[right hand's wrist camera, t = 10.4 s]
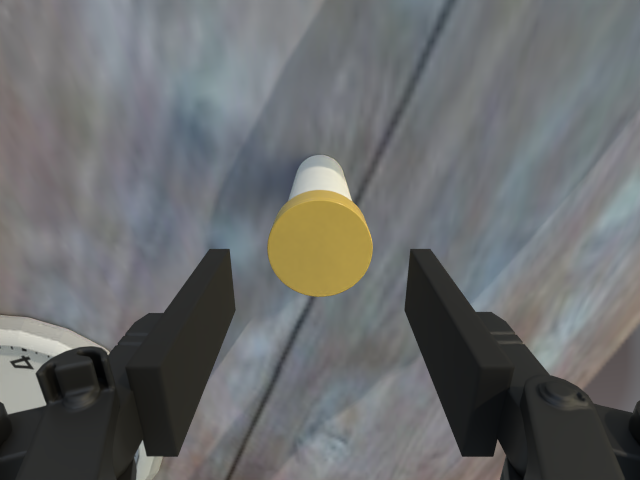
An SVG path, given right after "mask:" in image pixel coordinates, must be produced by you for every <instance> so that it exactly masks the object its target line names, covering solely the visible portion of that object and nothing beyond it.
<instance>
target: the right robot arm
mask: <svg viewBox="0 0 640 480" xmlns="http://www.w3.org/2000/svg"><path fill="white" fill-rule="evenodd" d="M234 313H235V300H234V290H233V280H232V270H231V259H230V249H209V251H208V252H207V254H206V255H205V256H204V258H203V259H202V260H201V262H200V263H199V265H198V266H197V267H196V269H195V270H194V272H193V273H192V274H191V276H190V277H189V279H188V280H187V281H186V283H185V284H184V285H183V287H182V288H181V290H180V291H179V292H178V294H177V295H176V297H175V298H174V299H173V301H172V302H171V304H170V305H169V306H168V308H167V309H166V310H165V312H164V313H148V314H147V315H145V316H144V317H142V318H141V319H139V320H138V321H136V322H135V323H134V324H133V325H132V326H131V328H130V329H129V330H128V331H127V333H126V334H125V336H123V337H122V339H121V340H120V341H119V342H118V345H117V346H115V347H114V348H113V350H112V351H111V352H110V353H109V355H108V354H107V352H106V351H105V350H104V349H102V348H100V347H95V346H87V347H78V348H75V349H71V350H68V351H65V352H63V353H61V354H59V355H57V356H54V357H53V358H51V359H50V360H48V361H47V362H46V363H44V364H43V365H42V366H41V367H40V368H39V370H38V371H37V372H36V373H35V374H36V377H37V380H38V383H39V385H40V388H41V391H42V394H43V397H44V399H45V402H46V405H45V406H42V407H38V408H34V409H29V410H25V411H20V412H16V413H12V414H8V413H7V411H6V409H5V406H4V404H3V403H2V402H0V480H136V475H137V468H136V462H135V458H134V456H135V454H136V452H137V450H138V448H139V446H140V444H141V442H142V440H143V443H144V447H145V451H146V456H147V457H178V455H179V452H180V450H181V447H182V445H183V442H184V439H185V437H186V434H187V432H188V429H189V427H190V424H191V422H192V419H193V417H194V414H195V412H196V409H197V407H198V404H199V401H200V399H201V396H202V394H203V391H204V389H205V386H206V384H207V381H208V379H209V376H210V374H211V371H212V368H213V366H214V363H215V361H216V358H217V356H218V353H219V351H220V348H221V346H222V343H223V341H224V338H225V336H226V333H227V330H228V328H229V325H230V323H231V320H232V318H233V315H234ZM405 313H406V315H407V318H408V320H409V323H410V325H411V328H412V330H413V333H414V336H415V338H416V341H417V343H418V346H419V348H420V351H421V353H422V356H423V358H424V361H425V363H426V366H427V368H428V371H429V374H430V376H431V379H432V381H433V384H434V386H435V389H436V391H437V394H438V396H439V399H440V401H441V404H442V407H443V409H444V412H445V414H446V417H447V419H448V422H449V424H450V427H451V429H452V432H453V434H454V437H455V439H456V442H457V445H458V447H459V450H460V452H461V455H462V457H493V456H494V451H495V447H496V443H497V439H498V440H499V442H500V444H501V446H502V448H503V450H504V452H505V454H506V458H505V462H504V466H503V470H502V474H501V477H500V480H640V401H638V402H637V404H636V406H635V409H634V411H633V413H631V412H626V411H622V410H618V409H613V408H609V407H605V406H600V405H597V404H594V403H593V402H592V401H591V399H590V398H589V396H588V395H587V394H586V393H585V392H584V391H582V390H581V389H580V388H579V387H577V386H576V385H574V384H572V383H570V382H568V381H566V380H564V379H561V378H558V377H555V376H550V375H549V373H548V372H547V371H546V370H545V369H544V367H543V366H542V365H541V364H540V363H539V361H538V360H537V359H536V358H535V356H534V355H533V354H532V353H531V352H530V350H529V349H528V348H527V347H526V346H525V344H523V342H522V341H521V339H520V338H519V337H518V336H517V335H515V332H514V331H513V330H512V329H511V327H510V326H509V325H508V324H507V322H506V321H504V320H503V319H501V318H500V317H498V316H497V315H495V314H493V313H492V312H475V310H474V309H473V308H472V306H471V305H470V304H469V302H468V301H467V299H466V298H465V297H464V295H463V294H462V292H461V291H460V290H459V288H458V287H457V285H456V284H455V283H454V281H453V280H452V279H451V277H450V276H449V274H448V273H447V272H446V270H445V269H444V267H443V266H442V265H441V263H440V262H439V260H438V259H437V258H436V256H435V255H434V254H433V252H432V251H431V249H410V259H409V270H408V280H407V290H406V300H405Z"/></svg>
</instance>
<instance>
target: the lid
mask: <svg viewBox="0 0 640 480" xmlns="http://www.w3.org/2000/svg"><path fill="white" fill-rule="evenodd" d="M372 249H373V246H372V239H371V235H370V232H369V229H368V226H367V224H366V221H365V218H364V216H363V214H362V212H361V211H360V209H359V208H358V207H357V206H356V205H355V204H354V203H353V202H352V201H351V200H350V199H348V198H347V197H345V196H343V195H341V194H339V193H336V192H333V191H328V190H312V191H307V192H304V193H301V194H299V195H297V196H295V197H293V198H292V199H290V200H289V201H288V202H287V203H286V204H285V205H284V206H283V207H282V208H281V209H280V211H279V212H278V214H277V216H276V218H275V221H274V224H273V226H272V229H271V232H270V235H269V239H268V247H267V250H268V258H269V262H270V264H271V267H272V269H273V271H274V272H275V274H276V275H277V277H278V278H279V279H280V280H281V281H282V282H283V283H284V284H285V285H287V286H288V287H289V288H291V289H292V290H294V291H297V292H299V293H302V294H304V295H309V296H316V297H324V296H331V295H335V294H339V293H341V292H344V291H345V290H347V289H349V288H351V287H352V286H354V285H355V284H356V283H357V282H358V281H359V280H360V279H361V278H362V277H363V275H364V274H365V272H366V271H367V269H368V267H369V264H370V261H371V258H372Z"/></svg>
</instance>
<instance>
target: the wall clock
mask: <svg viewBox="0 0 640 480" xmlns="http://www.w3.org/2000/svg"><path fill="white" fill-rule="evenodd" d="M87 346H95V347H100V348H102V349H104V350H105V351H106V352H107V354H108V355H109V353H110V352H109V351H108V350H106V349H105V348H104V347H102V346H100V345H98V344H96V343H94V342H92V341H90V340H88V339H86V338H84V337H82V336H80V335H78V334H77V333H75V332H73V331H71V330H69V329H66V328H63V327H59V326H56V325H52V324H49V323H46V322H42V321H39V320H35V319H32V318H28V317H17V316H6V315H0V402H2V403H3V404H4V406H5V409H6V411H7V413H8V414H12V413H16V412H20V411H25V410H29V409H34V408H38V407H42V406H45V405H46V402H45V399H44V397H43V394H42V391H41V388H40V385H39V383H38V380H37V377H36V374H35V373H36V372H37V371H38V370H39V368H40V367H41V366H42V365H43V364H44V363H46V362H47V361H48V360H50V359H51V358H53V357H54V356H57V355H59V354H61V353H63V352H65V351H68V350H71V349H75V348H78V347H87ZM134 458H135V462H136V468H137V475H136V480H152V479H153V477H154V476H155V475H156V474H157V472H158V471H159V468H160V465H161V462H162V459H163V457H147V456H146V451H145V447H144V443H143V440H142V442H141V444H140V446H139V448H138V450H137V452H136V454H135V456H134Z"/></svg>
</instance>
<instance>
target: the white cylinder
mask: <svg viewBox="0 0 640 480" xmlns="http://www.w3.org/2000/svg"><path fill="white" fill-rule="evenodd" d="M312 190H328V191H333V192H336V193H339V194H341V195H343V196H345V197H347V198H348V199H350V200H351V196H350V193H349V190H348V186H347V183H346V180H345V177H344V173H343V170H342V168H341V166H340V165H339V163H338V162H337V161H336V160H334V159H333V158H331V157H329V156H325V155H315V156H311V157H309V158H307V159H306V160H305V161H303V162H302V163H301V165H300V166H299V168H298V170H297V173H296V177H295V180H294V183H293V186H292V190H291V193H290V196H289V200H290V199H292V198H293V197H295V196H297V195H299V194H301V193H304V192H307V191H312ZM289 200H288V201H289ZM351 201H352V200H351Z"/></svg>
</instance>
